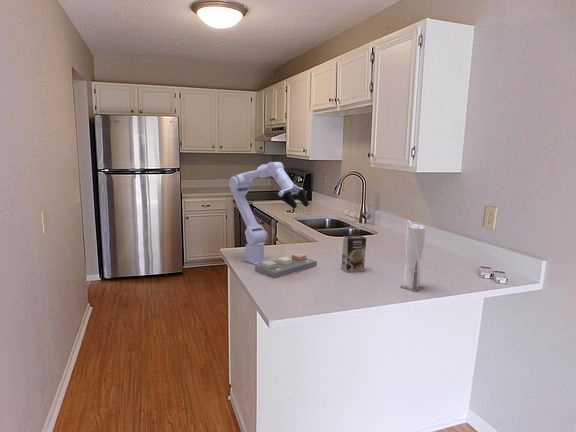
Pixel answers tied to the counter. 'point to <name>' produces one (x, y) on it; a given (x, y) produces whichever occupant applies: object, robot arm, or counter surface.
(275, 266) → the sage key
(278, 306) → the counter surface
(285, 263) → the cream key
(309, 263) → the keypad
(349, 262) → the coffee box
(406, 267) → the skyscraper
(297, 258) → the terracotta key
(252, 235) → the robot arm
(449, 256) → the counter surface
